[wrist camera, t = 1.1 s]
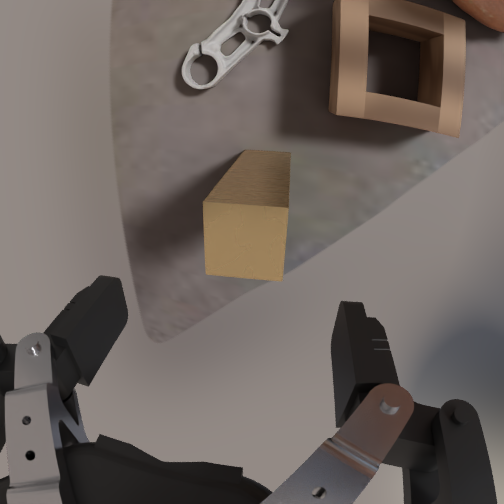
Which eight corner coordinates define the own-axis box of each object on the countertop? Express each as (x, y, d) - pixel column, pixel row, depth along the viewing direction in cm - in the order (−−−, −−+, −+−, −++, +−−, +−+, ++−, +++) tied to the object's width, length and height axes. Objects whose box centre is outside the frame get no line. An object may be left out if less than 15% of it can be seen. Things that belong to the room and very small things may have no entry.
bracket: (149, 45, 22) (284, -58, 16) (158, 47, 23) (285, -50, 17) (203, 102, 24) (345, -1, 18) (209, 101, 26) (342, 5, 20)
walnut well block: (332, 4, 20) (340, -13, 15) (439, 28, 19) (465, 20, 14) (328, 111, 24) (336, 114, 20) (433, 129, 23) (458, 138, 19)
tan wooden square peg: (245, 149, 27) (202, 202, 15) (290, 152, 27) (288, 207, 14) (244, 192, 29) (205, 274, 17) (287, 195, 28) (282, 281, 16)
